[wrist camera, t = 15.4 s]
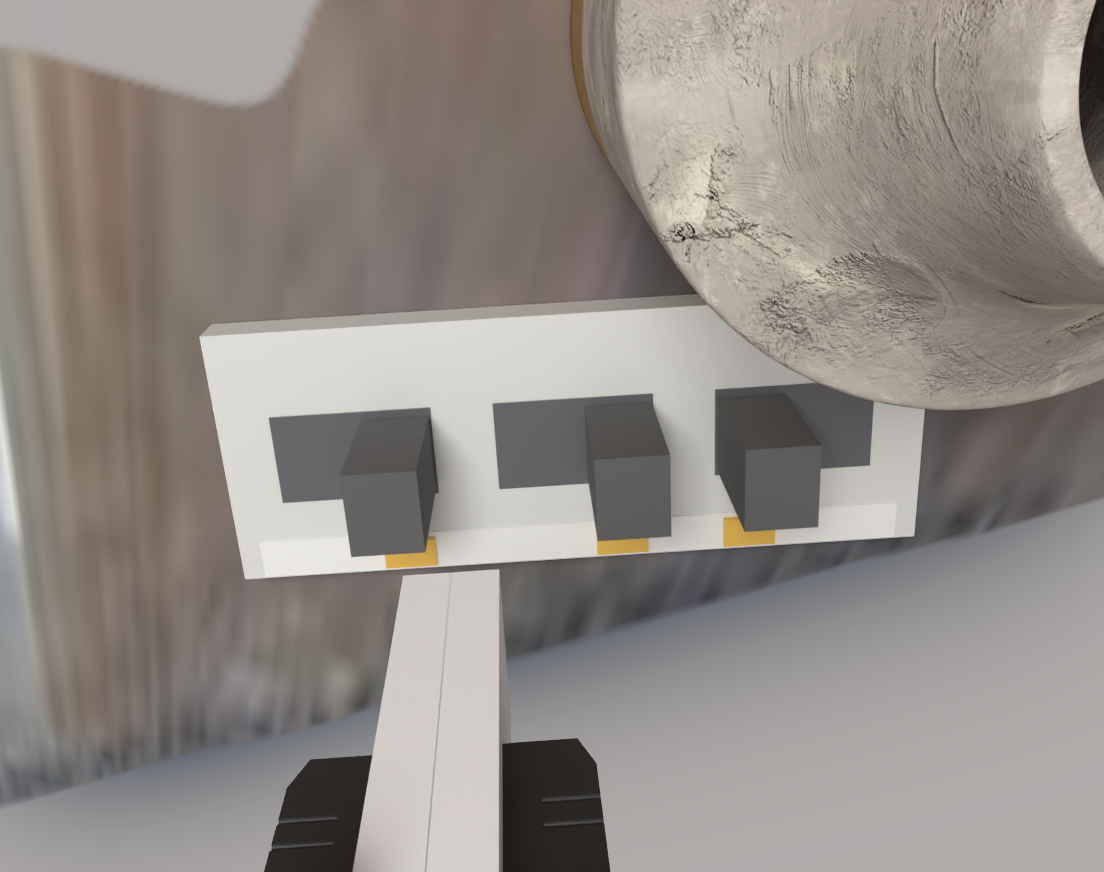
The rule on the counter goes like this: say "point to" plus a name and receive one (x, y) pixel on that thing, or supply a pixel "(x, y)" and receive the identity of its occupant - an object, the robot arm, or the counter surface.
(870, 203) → the vase
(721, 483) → the switch board
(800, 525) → the knob
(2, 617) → the counter surface
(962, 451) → the counter surface
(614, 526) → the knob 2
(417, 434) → the block
